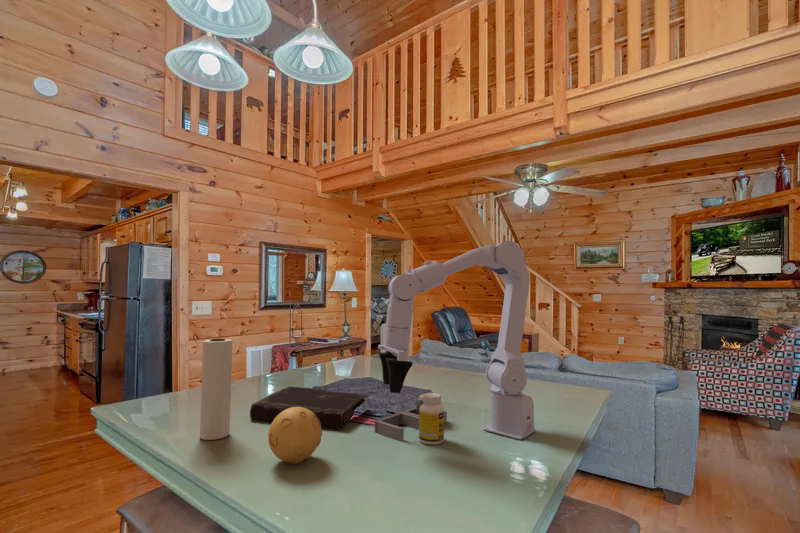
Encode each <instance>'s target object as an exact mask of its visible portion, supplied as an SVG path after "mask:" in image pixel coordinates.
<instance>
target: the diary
mask: <svg viewBox="0 0 800 533" xmlns="http://www.w3.org/2000/svg"><path fill="white" fill-rule="evenodd" d="M367 397H369V394H366V393H365V394H364V393H363V394H362V393H354V392H353V393H351V392H339V391H329V390H328V391H327V390H322V389H318V388H317V389H316V388H311V387H302V386H301V387H300V386H287V387H285V388H282V389H280V390H277V391H276V392H275V391H274V393H271V394H269V395H267V396H266V397H264V398H262V399H260V400H258V401H256V402H254V403H252V404H251V407H250V411H249V419H250V420H251V421H256V422H265V423H272V422H273V420H274V419H275V418H276V416H277V415H278V414H280V413H281V412H282V411H284V410H286V409H288V408H291V407H303V408H306V409H308V410H310V411H312V412H313V413H314V414H315V415H316V417H317V418H318V419H319V421H320V424H321V429H326V430H335V431H344V429H343V428H344V427H345V426H346V425H347V424H348V423H350V422H351V421H350V419H351V417H352V416H353V414H354V410H355V409H356V408H357V407H359V406H360V405H361V404H363V403H364V404H365V402H366V399H365V398H367Z"/></svg>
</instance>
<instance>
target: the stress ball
mask: <svg viewBox="0 0 800 533" xmlns="http://www.w3.org/2000/svg"><path fill="white" fill-rule="evenodd" d="M267 436H268V437H267V439H268V440H267V441H268V445H269V448H270V450H271V451H272V453H273V454H274V455H275V457H276V458H278V459H279V460H280V461H283V462H286V463H287V464H291V465H296V464H300V463H302V461H304V460H306V459H308V458H310V457H311V455H312V454H314V452H315V451H317V448H318V447H319V445H320V444H321V442H322V436H323V430H322V428H321V424H320V421H319V419H318V418H317V417H316V415H315V414H314V413H313V412H312V411H310V410H308V409H306V408H303V407H291V408H288V409H286V410H284V411H282V412H281V413H280V414H278V415H277V416H276V418H275V419H274V420H273V422H271V424H270V427H269V430H268V434H267Z"/></svg>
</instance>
